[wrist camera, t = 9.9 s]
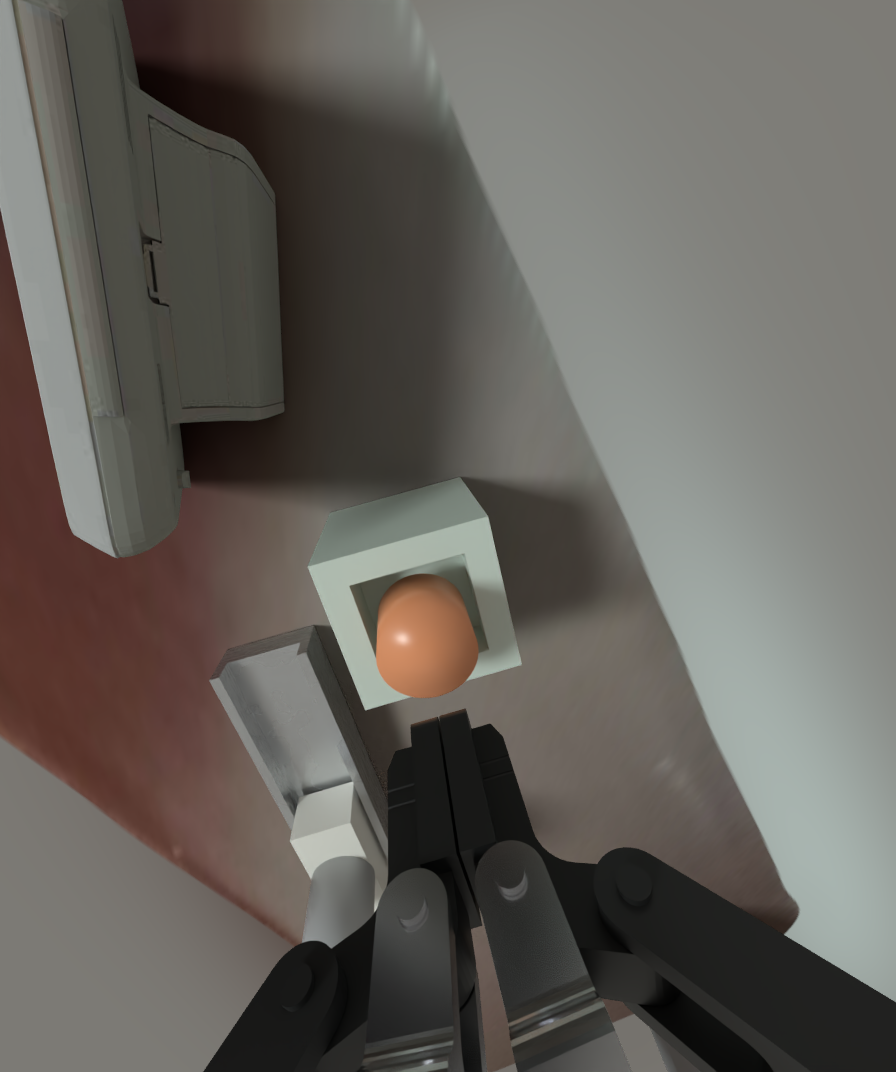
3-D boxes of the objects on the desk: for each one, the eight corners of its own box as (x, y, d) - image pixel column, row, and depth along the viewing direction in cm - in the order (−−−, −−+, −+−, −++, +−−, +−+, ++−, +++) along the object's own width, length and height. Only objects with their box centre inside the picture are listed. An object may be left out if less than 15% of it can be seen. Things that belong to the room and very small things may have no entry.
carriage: (392, 865, 30) (395, 1077, 21) (340, 881, 30) (320, 1102, 21) (355, 780, 27) (339, 984, 18) (297, 797, 27) (251, 1011, 18)
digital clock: (80, 25, 16) (-407, -533, 6) (332, 126, 18) (265, -180, 8) (70, 459, 21) (-218, 536, 11) (270, 504, 23) (179, 603, 13)
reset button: (473, 637, 19) (487, 681, 16) (392, 660, 19) (393, 709, 16) (453, 562, 18) (465, 597, 15) (366, 587, 18) (362, 627, 15)
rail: (398, 827, 31) (399, 866, 29) (328, 848, 31) (323, 889, 29) (313, 625, 25) (305, 652, 23) (227, 649, 25) (209, 680, 23)
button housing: (487, 591, 26) (521, 664, 19) (370, 625, 26) (365, 710, 19) (460, 476, 23) (488, 516, 17) (330, 512, 23) (307, 566, 17)
